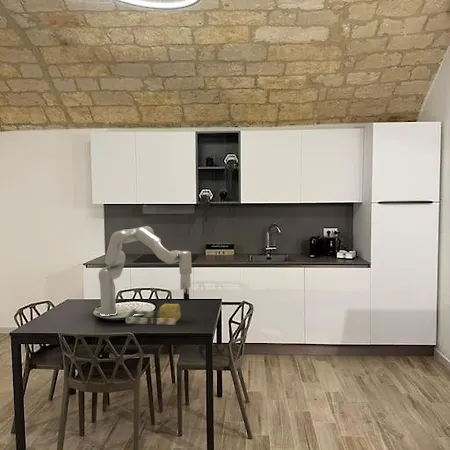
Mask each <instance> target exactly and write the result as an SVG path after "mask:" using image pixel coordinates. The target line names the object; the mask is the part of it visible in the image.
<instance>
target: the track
mask: <svg viewBox="0 0 450 450" xmlns="http://www.w3.org/2000/svg"><path fill="white" fill-rule="evenodd" d="M181 313H182V311H180V316H179V319H181V318H182V317H181V316H182V314H181ZM134 314H144V316H143V317H132V316H133V315H134ZM125 324H137V325H138V324H139V325H143V324H144V325H169V326H170V325H173V326H174V325H177V321H176V319H174V318H160V317H159V311H156V310H155V311H154V310H152V311H151V310H136V309H135V308H133V309H132V310H131V311H130V312H129V313H128V314H126V315H125Z"/></svg>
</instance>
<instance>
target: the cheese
mask: <svg viewBox="0 0 450 450" xmlns="http://www.w3.org/2000/svg"><path fill="white" fill-rule="evenodd" d="M180 312H181V306H180V303H163V304H162V305H161V306H159V317H158V318H174V319H176V322H178V321H179V320H180V318H179V316H180Z"/></svg>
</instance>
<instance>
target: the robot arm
mask: <svg viewBox="0 0 450 450" xmlns="http://www.w3.org/2000/svg"><path fill="white" fill-rule="evenodd" d="M138 241H140V242H141V243H143V244H144V245H145V246H146V247H148V248H149V249H151V250H152V252H153V253H154V255H155V256H156V257H157V259H159V260H161V261H162V262H163V263H165V264H168V265H172V264H175V263H178V265H179V266H178V267H179V274H180V280H179V281H180V283H179V284H180V286H179V288H180V289H179V290H181V291H183V292H182V293H183V301H185V302H186V301H189V300H190V288H191V286H192V285H191V284H192V283H191V274H193V273H192V272H193V271H192V267H193V266H192V252H191V251H189V250H178V249H175V250H168V249H167V248H166V247H164V246H163V245H162V243H161V242H162V239H161V238H160V237H159V236H158V235H156V234H155V233H154V229H153V228H152V227H151V226H149V225H143V226H139V227H135V228H134V227H133V228H130V229H129V228H127V229H122V230H117V231H114V232H113V233H112V234H111V237H110V239H109V244H108V247H107V250H106V254H105V257H104V263H105V264H106V265H107V266H105V267H102V268H101V269H100V270H99V272H98V281H99V286H100V287H99V288H100V307H95V309H94V311H95V312H100V313H101V314H105V315H108V314H109V315H110V314H115V313H116V311H117V310H116V309H117V307H116V306H117V305H116V303H117V302H116V300H117V299H116V284H115V281H114V280H117V279H119V278H120V277H121V275H122V272H123V269H124V266H125V262H126V254H125V252H124V251H123V250H122V248H123V244H128V243H133V242H138Z"/></svg>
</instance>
